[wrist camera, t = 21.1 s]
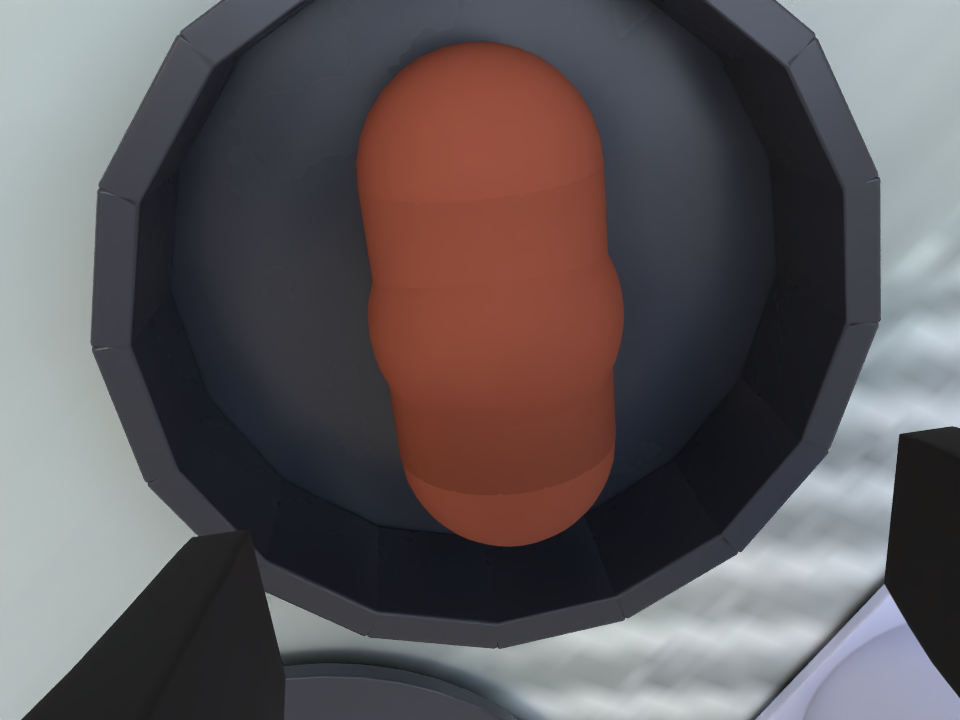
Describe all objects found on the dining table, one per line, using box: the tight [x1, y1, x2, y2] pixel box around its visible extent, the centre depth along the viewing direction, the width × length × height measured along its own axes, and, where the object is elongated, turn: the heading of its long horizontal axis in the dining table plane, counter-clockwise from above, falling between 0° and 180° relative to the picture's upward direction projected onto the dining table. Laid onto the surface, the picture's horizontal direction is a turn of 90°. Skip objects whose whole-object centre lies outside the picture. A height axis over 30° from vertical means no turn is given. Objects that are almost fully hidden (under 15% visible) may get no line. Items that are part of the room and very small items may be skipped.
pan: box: [91, 0, 881, 649], centre depth 18 cm, size 14×14×4 cm
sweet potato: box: [356, 41, 624, 547], centre depth 17 cm, size 10×5×5 cm, turn 6°
